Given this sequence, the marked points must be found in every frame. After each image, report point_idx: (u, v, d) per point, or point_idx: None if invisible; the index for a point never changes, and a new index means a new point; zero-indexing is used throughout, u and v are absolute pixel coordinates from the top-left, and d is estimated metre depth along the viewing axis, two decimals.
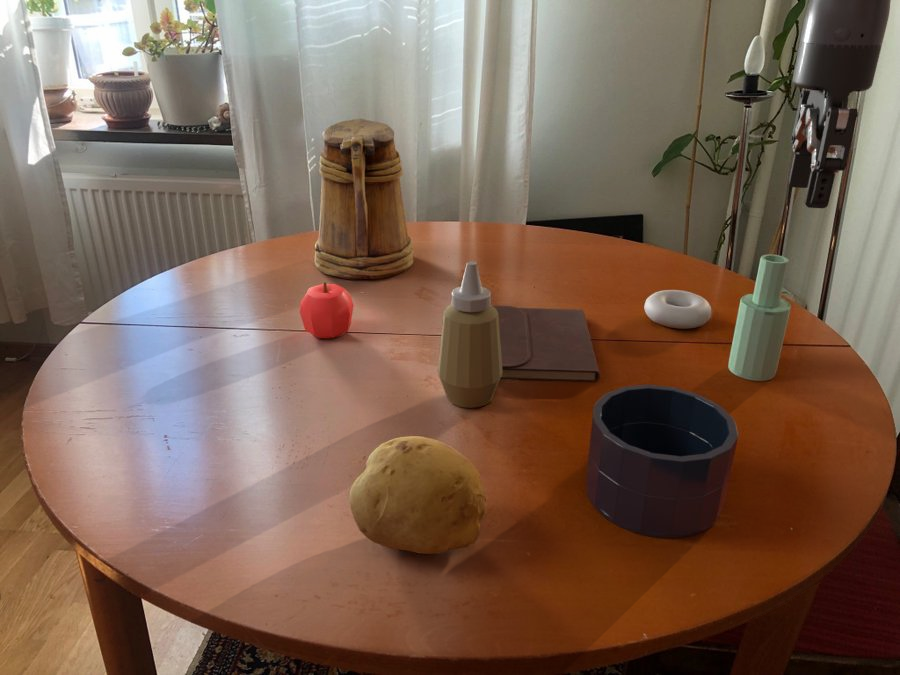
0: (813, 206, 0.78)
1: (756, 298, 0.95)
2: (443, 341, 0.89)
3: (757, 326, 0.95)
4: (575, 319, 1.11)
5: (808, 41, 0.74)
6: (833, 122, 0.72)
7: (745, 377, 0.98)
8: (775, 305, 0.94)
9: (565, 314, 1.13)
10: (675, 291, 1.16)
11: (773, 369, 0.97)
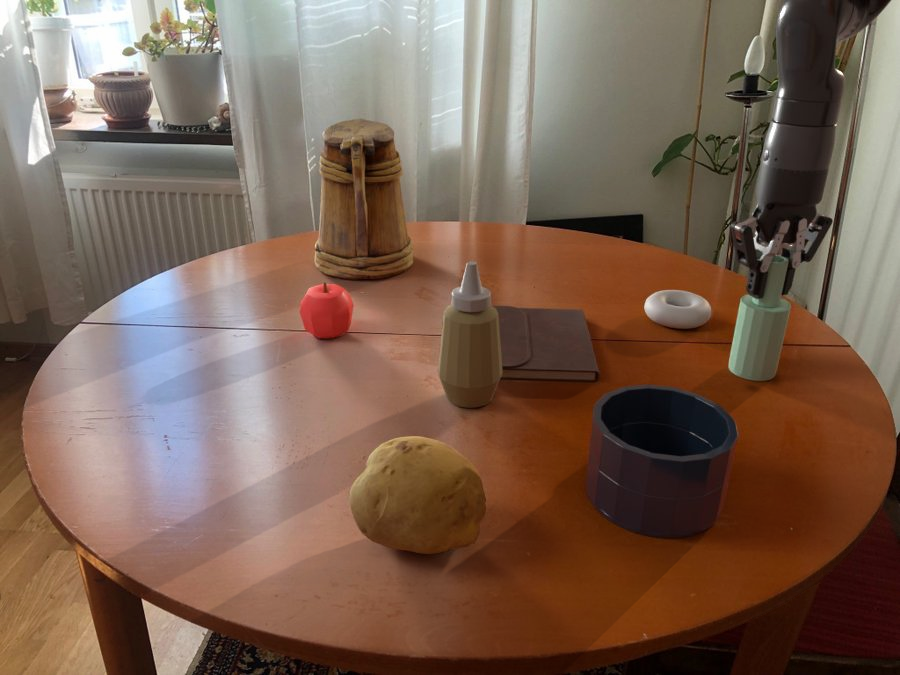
0: (751, 295, 0.95)
1: None
2: (443, 341, 0.89)
3: (757, 326, 0.95)
4: (575, 319, 1.11)
5: None
6: (733, 234, 0.90)
7: (745, 377, 0.98)
8: (775, 305, 0.94)
9: (565, 314, 1.12)
10: (675, 291, 1.16)
11: (773, 369, 0.97)
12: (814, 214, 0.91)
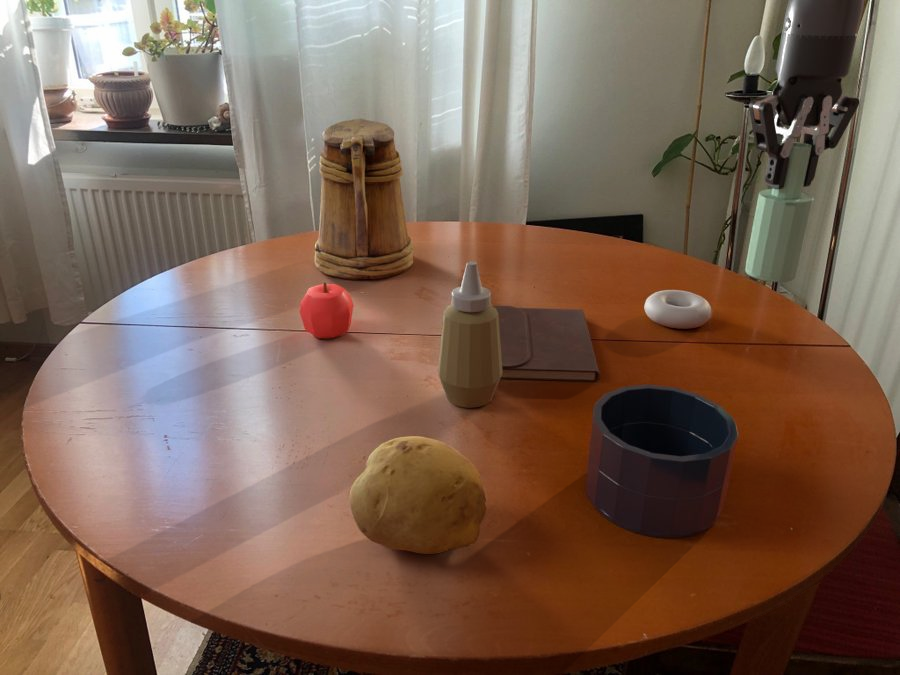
0: (770, 186, 0.88)
1: (776, 190, 0.88)
2: (443, 341, 0.89)
3: (777, 219, 0.88)
4: (575, 319, 1.11)
5: None
6: (752, 114, 0.83)
7: (764, 278, 0.91)
8: (796, 196, 0.87)
9: (565, 314, 1.12)
10: (675, 291, 1.16)
11: (794, 269, 0.90)
12: (839, 93, 0.84)
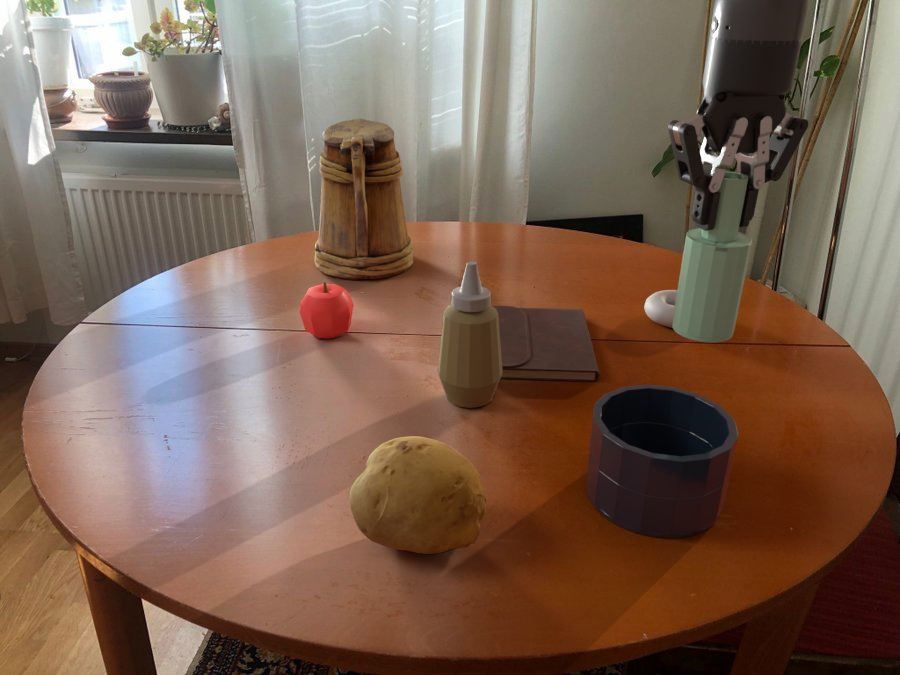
0: (699, 226, 0.71)
1: None
2: (443, 341, 0.89)
3: (706, 267, 0.71)
4: (575, 319, 1.11)
5: None
6: (672, 138, 0.66)
7: (692, 337, 0.74)
8: (730, 239, 0.70)
9: (565, 314, 1.12)
10: (675, 291, 1.16)
11: (729, 327, 0.73)
12: (783, 112, 0.67)
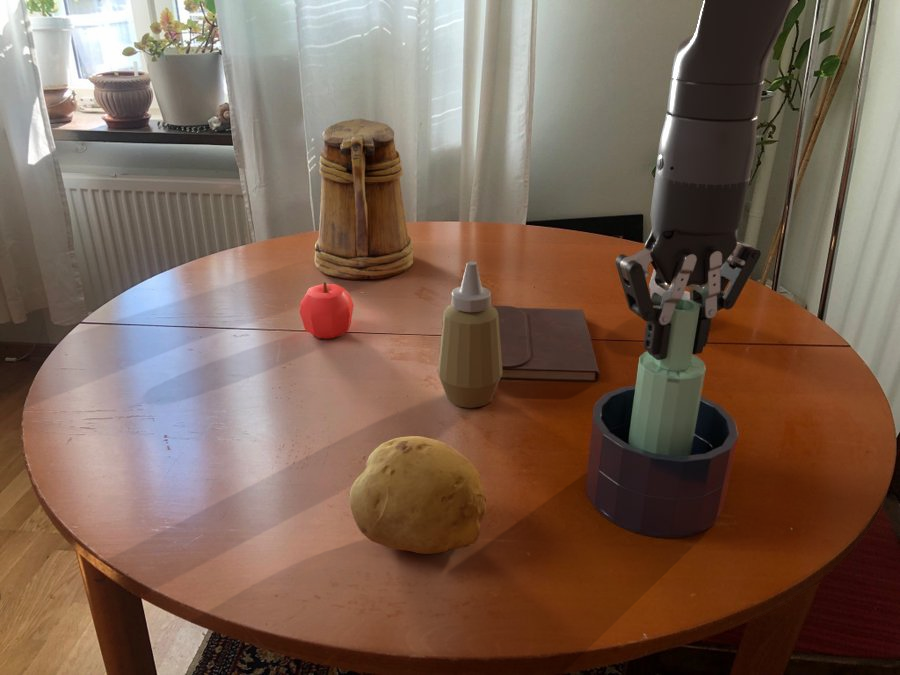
0: (651, 354, 0.69)
1: None
2: (443, 341, 0.89)
3: (658, 397, 0.69)
4: (575, 319, 1.11)
5: None
6: (620, 272, 0.64)
7: None
8: (683, 368, 0.68)
9: (565, 314, 1.12)
10: None
11: (684, 453, 0.71)
12: (733, 244, 0.65)
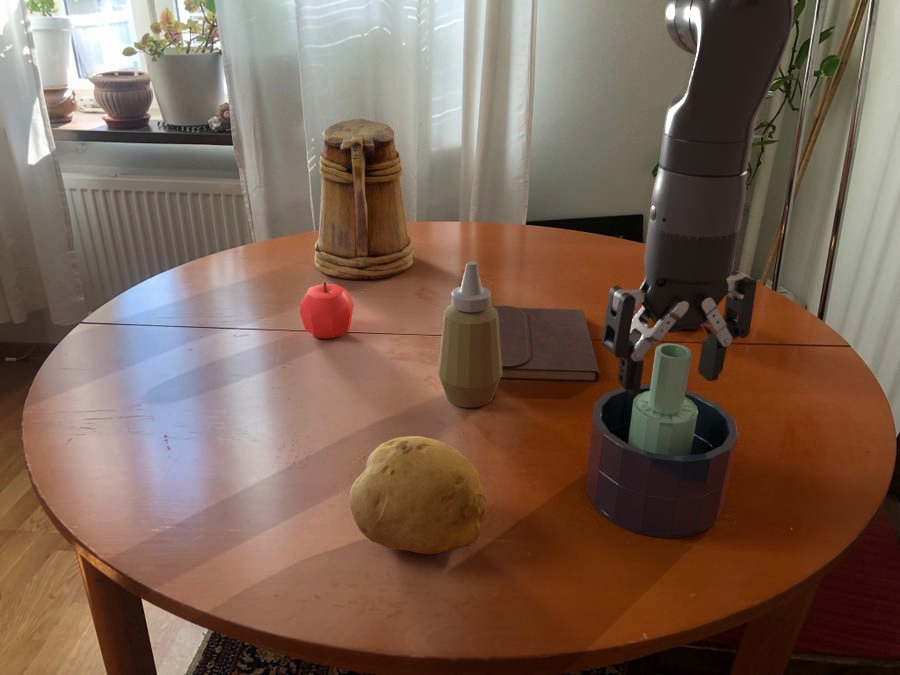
0: (625, 388, 0.70)
1: (651, 401, 0.71)
2: (443, 341, 0.89)
3: (652, 440, 0.71)
4: (575, 319, 1.11)
5: None
6: (610, 301, 0.65)
7: None
8: (676, 412, 0.70)
9: (565, 314, 1.12)
10: None
11: None
12: (725, 290, 0.67)
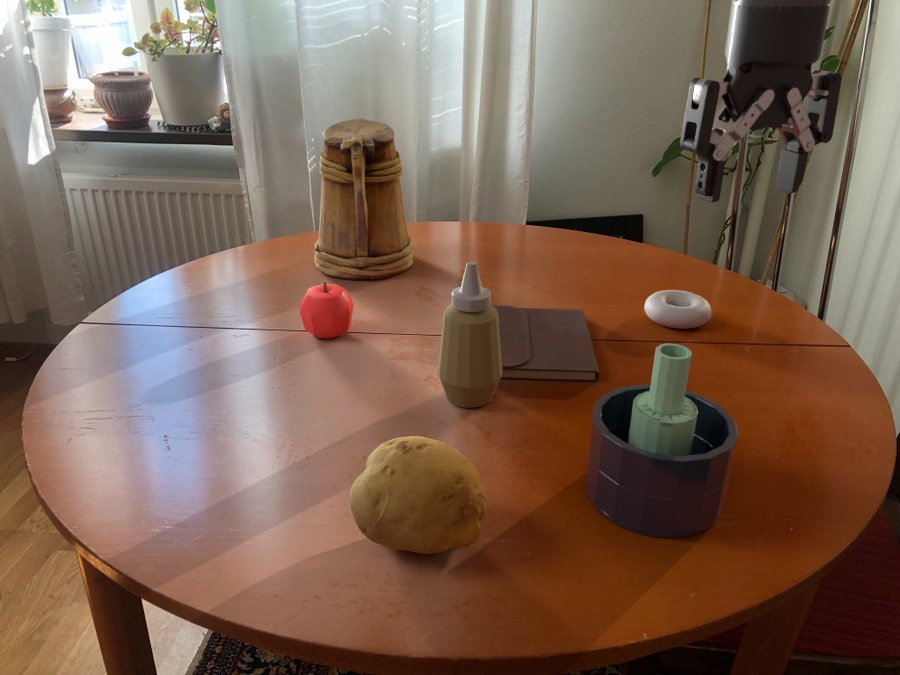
0: (703, 198, 0.66)
1: (651, 401, 0.71)
2: (443, 341, 0.89)
3: (652, 440, 0.71)
4: (575, 319, 1.11)
5: None
6: (691, 94, 0.62)
7: None
8: (676, 412, 0.70)
9: (565, 314, 1.12)
10: (675, 291, 1.16)
11: None
12: (809, 84, 0.63)
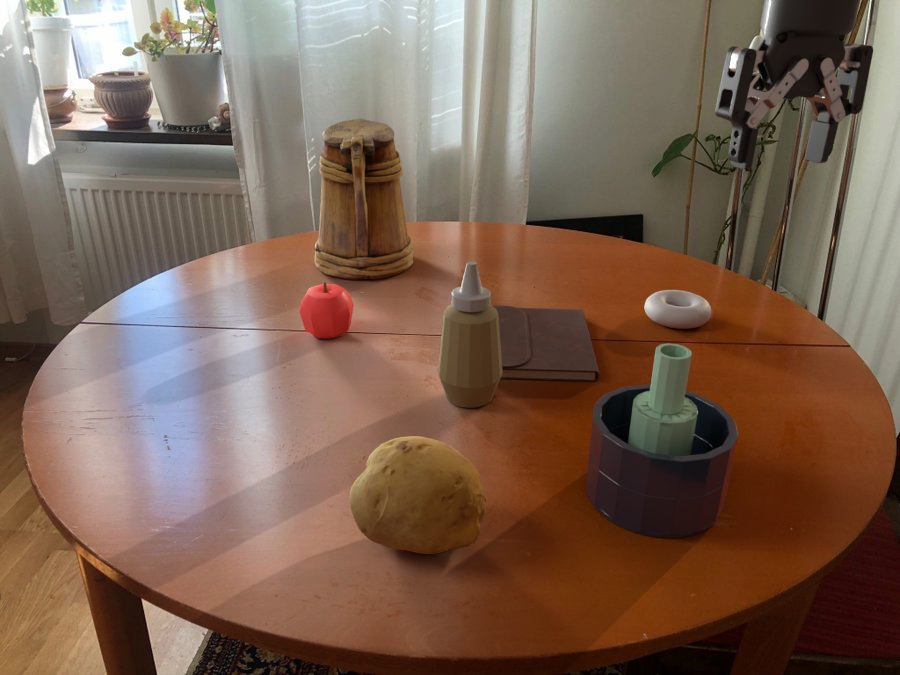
0: (735, 165, 0.68)
1: (651, 401, 0.71)
2: (443, 341, 0.89)
3: (652, 440, 0.71)
4: (575, 319, 1.11)
5: None
6: (728, 62, 0.64)
7: None
8: (676, 412, 0.70)
9: (565, 314, 1.12)
10: (675, 291, 1.16)
11: None
12: (842, 55, 0.65)
